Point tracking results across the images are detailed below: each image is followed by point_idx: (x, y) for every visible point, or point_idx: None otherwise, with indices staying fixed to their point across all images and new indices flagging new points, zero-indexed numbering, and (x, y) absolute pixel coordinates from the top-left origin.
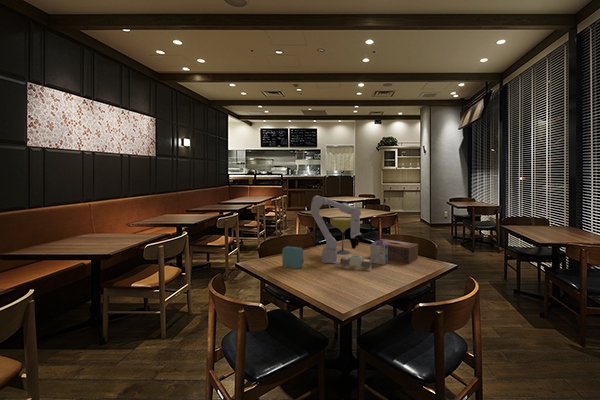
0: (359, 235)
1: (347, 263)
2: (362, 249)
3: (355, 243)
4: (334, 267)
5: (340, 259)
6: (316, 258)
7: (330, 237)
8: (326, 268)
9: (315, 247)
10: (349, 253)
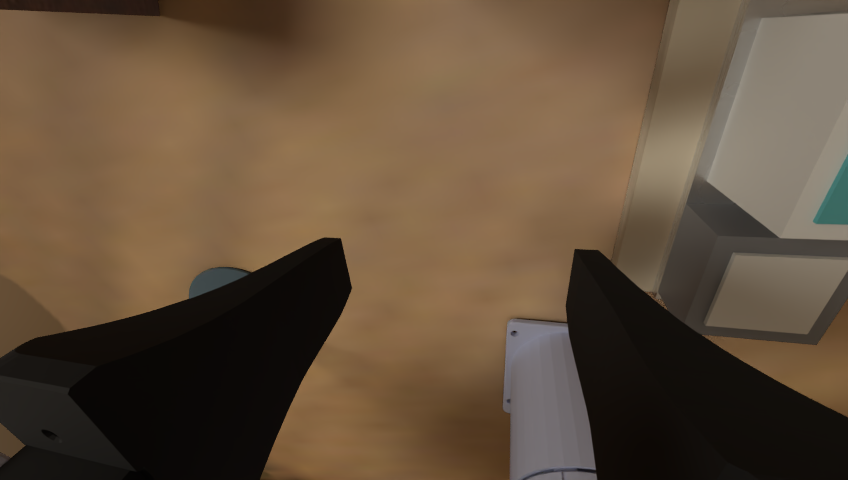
0: (99, 421)
1: None
2: (45, 188)
3: (684, 341)
4: None
5: (816, 339)
6: (503, 449)
7: None
8: (835, 380)
9: None
10: (239, 269)
